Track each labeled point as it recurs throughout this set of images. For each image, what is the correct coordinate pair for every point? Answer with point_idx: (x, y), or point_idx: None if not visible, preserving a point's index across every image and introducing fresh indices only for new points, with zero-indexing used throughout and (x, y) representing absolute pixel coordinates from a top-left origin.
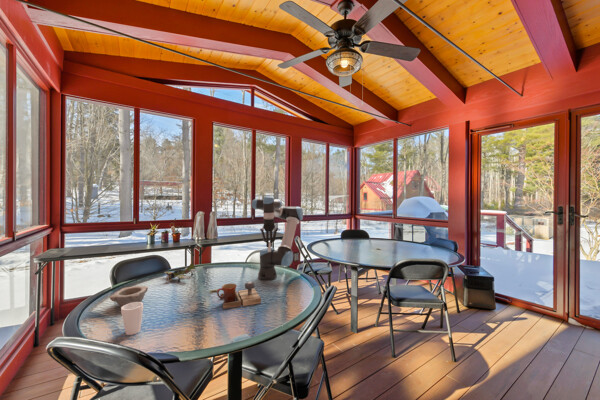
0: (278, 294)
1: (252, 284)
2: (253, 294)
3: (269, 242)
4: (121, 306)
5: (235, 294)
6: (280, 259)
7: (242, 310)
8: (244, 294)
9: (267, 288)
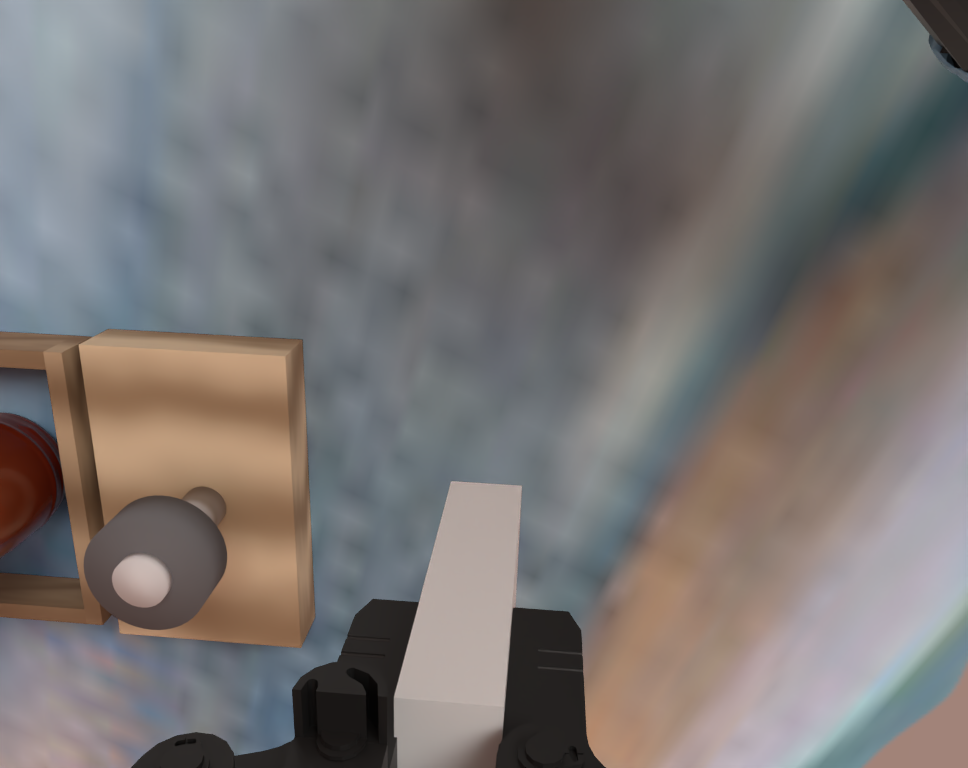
0: (552, 506)
1: (177, 623)
2: (243, 527)
3: (467, 761)
4: None
5: (30, 523)
6: (958, 34)
7: (133, 678)
8: (146, 483)
9: (494, 265)
